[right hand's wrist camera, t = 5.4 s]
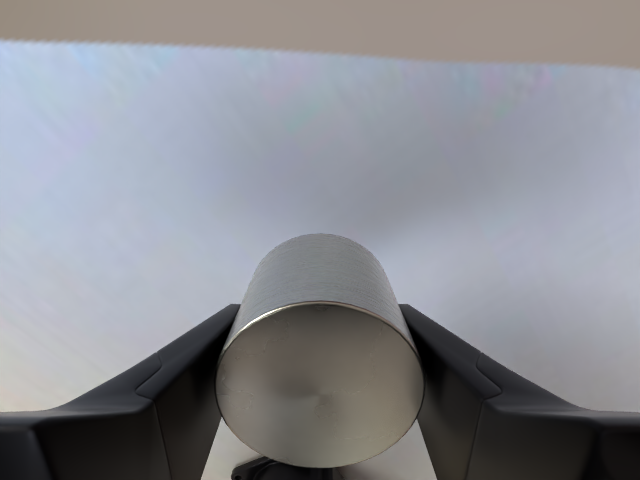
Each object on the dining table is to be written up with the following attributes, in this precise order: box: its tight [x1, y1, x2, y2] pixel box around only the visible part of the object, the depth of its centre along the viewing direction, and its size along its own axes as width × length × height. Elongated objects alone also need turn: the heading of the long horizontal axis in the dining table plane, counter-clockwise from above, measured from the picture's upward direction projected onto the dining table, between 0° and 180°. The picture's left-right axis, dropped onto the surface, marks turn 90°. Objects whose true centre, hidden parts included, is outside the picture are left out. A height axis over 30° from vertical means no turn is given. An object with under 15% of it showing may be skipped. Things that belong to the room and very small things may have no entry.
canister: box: [214, 234, 426, 468], centre depth 10 cm, size 5×5×4 cm
